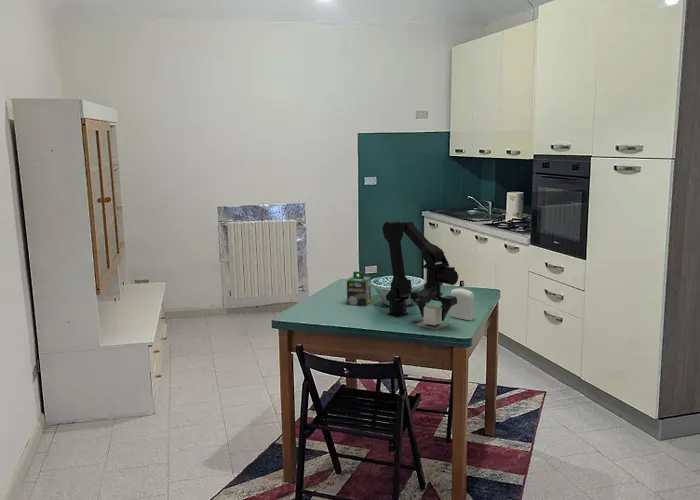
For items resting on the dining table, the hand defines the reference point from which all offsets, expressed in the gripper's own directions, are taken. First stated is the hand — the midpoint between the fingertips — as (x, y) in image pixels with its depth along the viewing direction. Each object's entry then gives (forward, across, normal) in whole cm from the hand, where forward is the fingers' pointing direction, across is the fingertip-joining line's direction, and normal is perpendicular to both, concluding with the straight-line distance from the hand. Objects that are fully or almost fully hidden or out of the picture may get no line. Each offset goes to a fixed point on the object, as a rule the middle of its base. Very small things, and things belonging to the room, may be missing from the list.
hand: (432, 318), depth 253 cm
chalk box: (+3, -44, +8) cm, 45 cm away
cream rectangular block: (+2, 0, 0) cm, 2 cm away
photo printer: (+3, +4, +16) cm, 17 cm away
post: (+3, 0, 0) cm, 3 cm away
